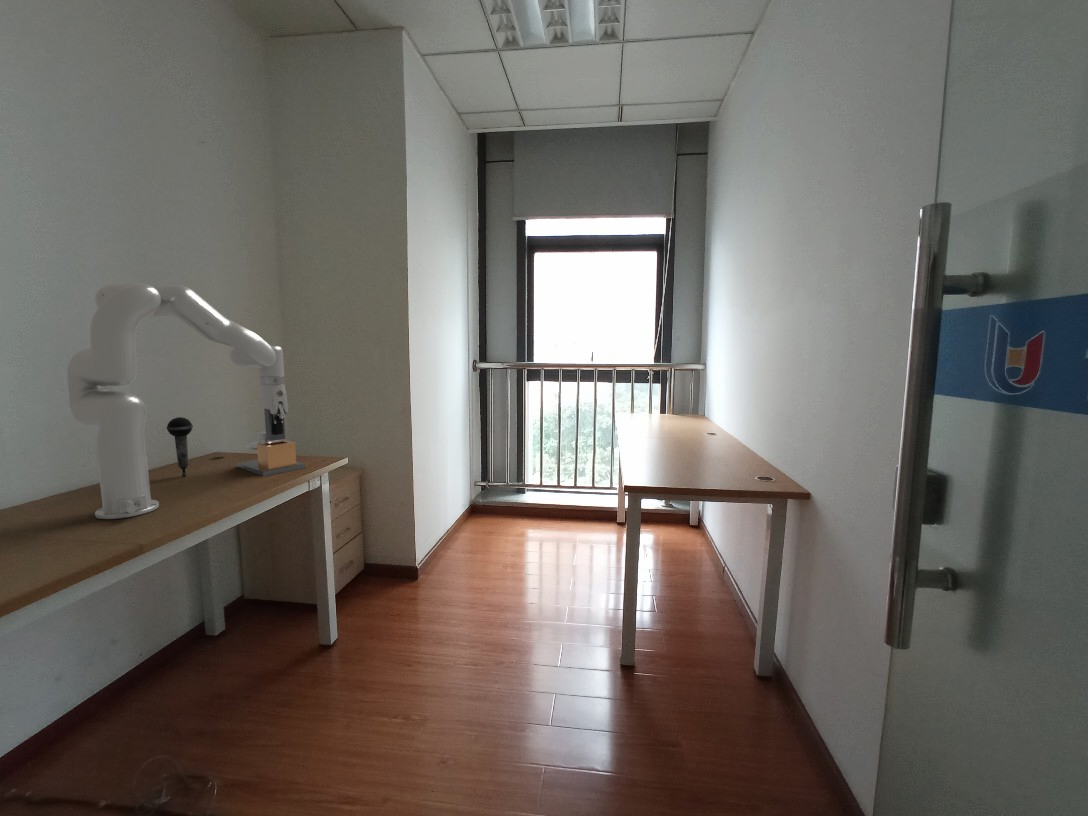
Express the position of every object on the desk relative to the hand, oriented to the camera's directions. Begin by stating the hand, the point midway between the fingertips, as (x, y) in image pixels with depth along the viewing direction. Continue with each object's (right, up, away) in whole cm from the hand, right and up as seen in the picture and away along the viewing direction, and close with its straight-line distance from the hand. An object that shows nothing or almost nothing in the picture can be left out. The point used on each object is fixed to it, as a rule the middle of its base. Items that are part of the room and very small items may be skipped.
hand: (275, 433), depth 165 cm
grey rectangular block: (0, -2, 0) cm, 2 cm away
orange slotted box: (-4, -13, +5) cm, 14 cm away
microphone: (-26, -14, -8) cm, 30 cm away
